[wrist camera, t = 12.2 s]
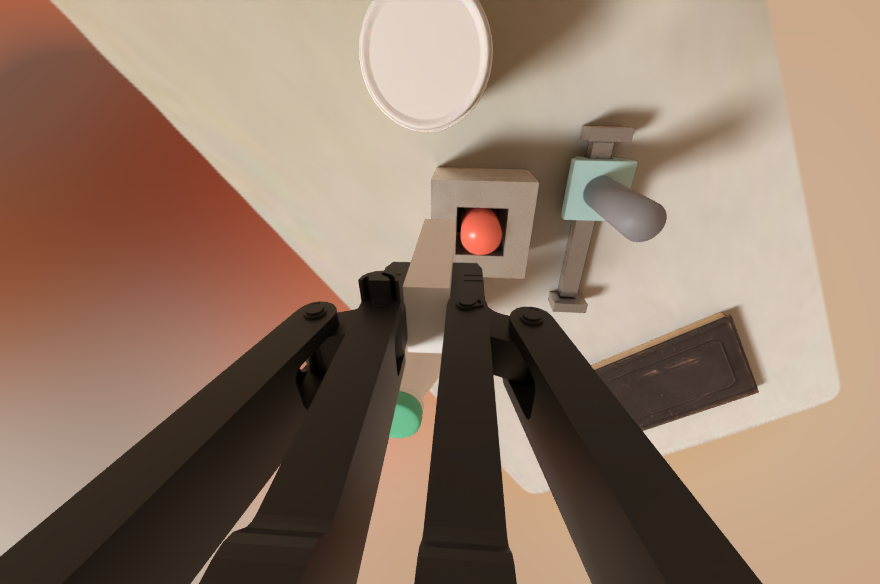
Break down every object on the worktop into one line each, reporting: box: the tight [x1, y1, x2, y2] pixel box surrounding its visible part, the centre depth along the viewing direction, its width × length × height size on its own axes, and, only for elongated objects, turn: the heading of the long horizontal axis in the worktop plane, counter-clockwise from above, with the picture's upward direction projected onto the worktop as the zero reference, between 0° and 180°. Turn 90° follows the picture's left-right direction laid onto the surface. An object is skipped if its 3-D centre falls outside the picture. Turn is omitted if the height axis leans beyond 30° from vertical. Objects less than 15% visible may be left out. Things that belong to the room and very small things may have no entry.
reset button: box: [461, 207, 502, 255], centre depth 35 cm, size 4×4×6 cm
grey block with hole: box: [431, 167, 539, 279], centre depth 37 cm, size 10×10×7 cm
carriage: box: [561, 156, 667, 242], centre depth 32 cm, size 6×6×13 cm
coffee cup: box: [359, 0, 493, 132], centre depth 28 cm, size 9×9×12 cm
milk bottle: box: [389, 344, 442, 438], centre depth 38 cm, size 8×8×20 cm
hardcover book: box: [591, 312, 759, 431], centre depth 50 cm, size 16×23×2 cm
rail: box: [548, 126, 635, 313], centre depth 38 cm, size 21×4×3 cm, turn 179°
